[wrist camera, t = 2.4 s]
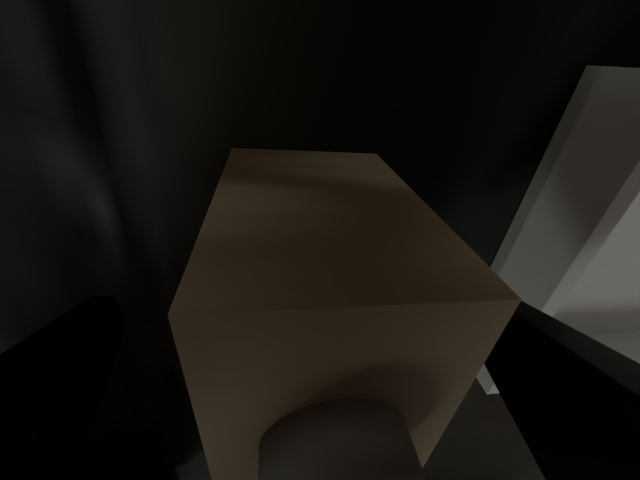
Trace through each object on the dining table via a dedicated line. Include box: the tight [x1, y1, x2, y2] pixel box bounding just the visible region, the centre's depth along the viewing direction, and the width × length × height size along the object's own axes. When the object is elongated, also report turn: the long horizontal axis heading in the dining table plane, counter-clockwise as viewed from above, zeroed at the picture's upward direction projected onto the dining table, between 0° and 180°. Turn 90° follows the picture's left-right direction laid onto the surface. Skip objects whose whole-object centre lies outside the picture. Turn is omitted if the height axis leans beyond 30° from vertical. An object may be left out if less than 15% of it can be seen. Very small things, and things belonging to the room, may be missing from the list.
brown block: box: [168, 148, 522, 480], centre depth 7 cm, size 4×6×7 cm, turn 175°
